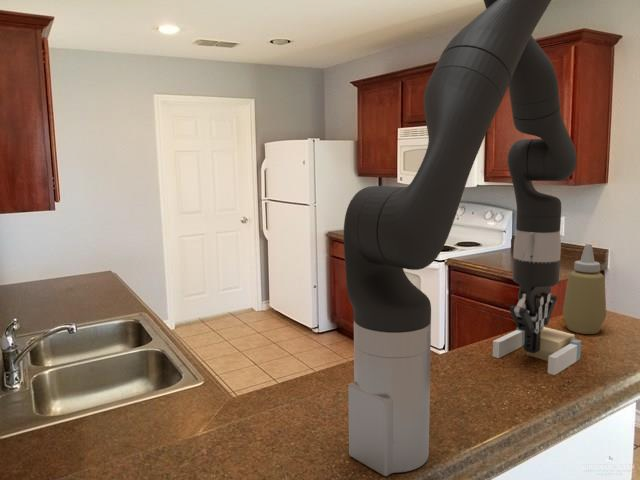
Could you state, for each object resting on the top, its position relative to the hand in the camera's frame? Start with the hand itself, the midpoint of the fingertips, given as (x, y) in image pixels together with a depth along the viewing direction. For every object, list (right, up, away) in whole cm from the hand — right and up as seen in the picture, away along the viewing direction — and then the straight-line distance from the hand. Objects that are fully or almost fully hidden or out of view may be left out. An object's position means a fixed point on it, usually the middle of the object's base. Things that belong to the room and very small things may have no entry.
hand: (531, 351), depth 93 cm
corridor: (+1, -1, +1) cm, 2 cm away
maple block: (+4, -1, +3) cm, 5 cm away
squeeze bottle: (+17, +1, +15) cm, 23 cm away
